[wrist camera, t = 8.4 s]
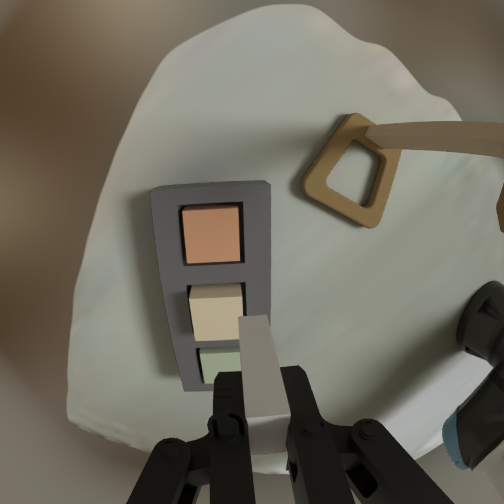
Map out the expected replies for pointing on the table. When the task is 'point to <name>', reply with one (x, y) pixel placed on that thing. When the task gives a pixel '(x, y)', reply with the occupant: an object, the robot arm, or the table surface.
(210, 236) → the terracotta key
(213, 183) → the keypad
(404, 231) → the table surface
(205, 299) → the sand key
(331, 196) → the headphone stand
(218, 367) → the sage key
